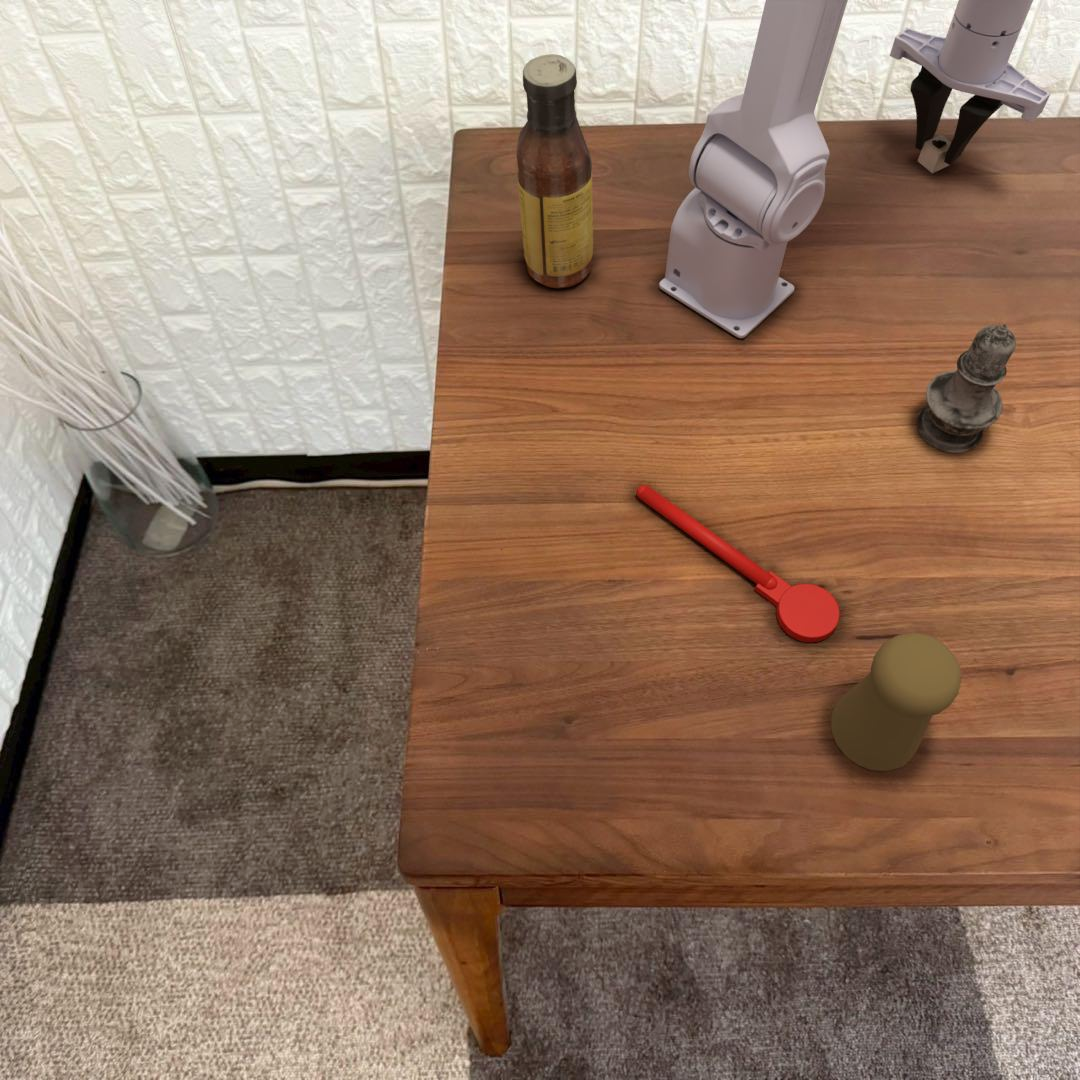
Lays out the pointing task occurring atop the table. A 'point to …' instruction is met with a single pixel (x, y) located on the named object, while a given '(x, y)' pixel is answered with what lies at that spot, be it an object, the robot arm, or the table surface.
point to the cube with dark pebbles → (934, 153)
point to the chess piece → (967, 393)
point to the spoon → (761, 578)
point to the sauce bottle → (554, 177)
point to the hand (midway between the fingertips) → (938, 151)
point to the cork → (896, 701)
